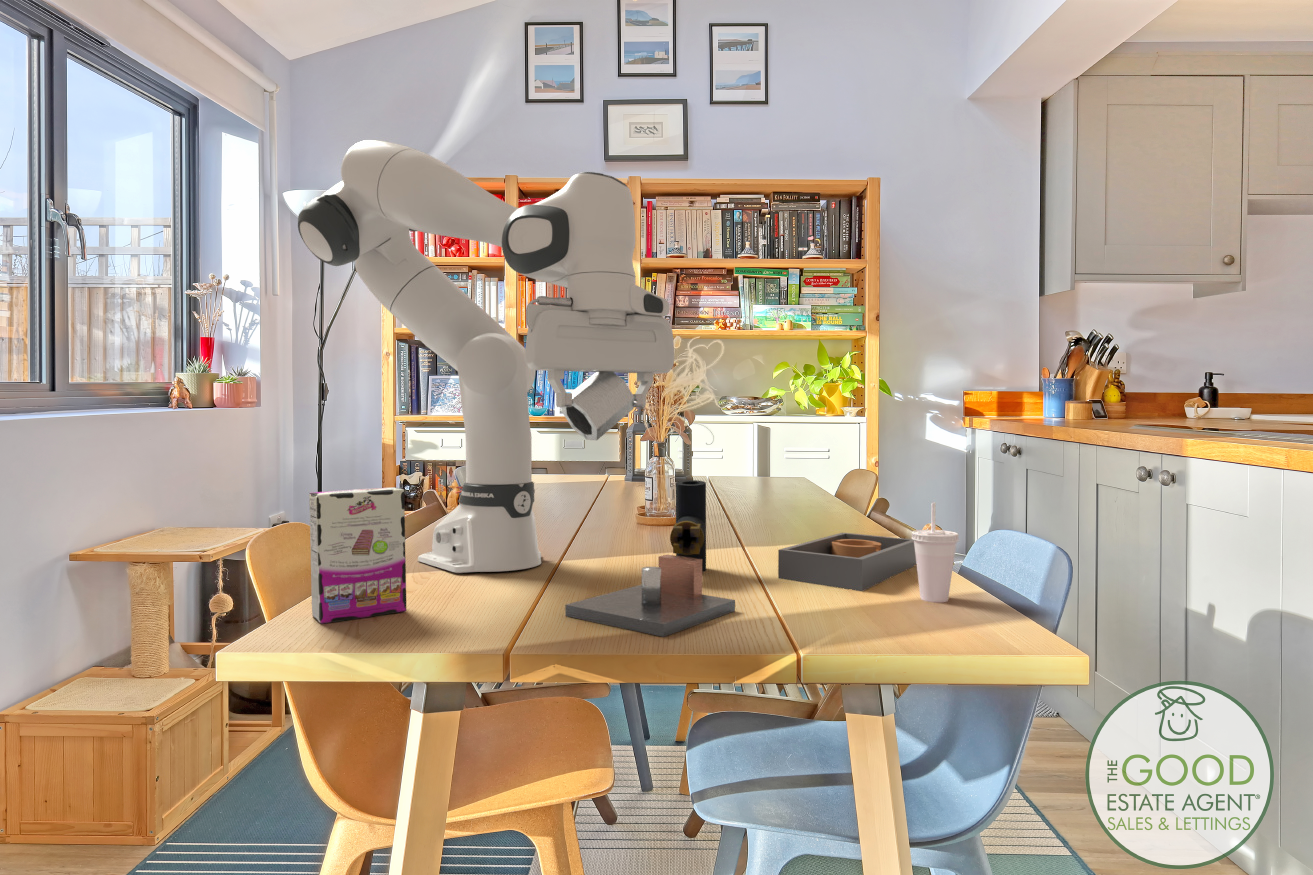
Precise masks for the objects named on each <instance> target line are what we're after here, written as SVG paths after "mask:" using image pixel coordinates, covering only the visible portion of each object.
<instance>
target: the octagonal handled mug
mask: <svg viewBox="0 0 1313 875" xmlns="http://www.w3.org/2000/svg"><path fill="white" fill-rule="evenodd" d="M570 393H572V399H571V401H572V406H571V407H561V413H562V414H563V416H564V417H565V419H566V421H567V422H568V424H569V426H570V427H571V428H572V430H573V431H576V432H577V433H578V434H579V435H580V436H581V437H582V438H583V439H585V440H587V441H598V440H599V439H600V438H602V436H604V435H605V434H606V433H608V431H610V430H611V429H612V428H613V427H615V426H616V424H618V423H619V422H620V421H621V420H623V418H625V416H627V415H629V413H631V411H633V410H634V408H635V407H634V396H633V394H634V393H632V391H631V389H630V388H629V386H628V384H627V383H626V381H625V380H624V379H623V378H622V377H621V376H619V375H618V374H617V373H614V372H613V371H601V372H593V374H592V375H590V376H589V377H588V378H586V379H585V380H584V381H583V382H582V383H581V384H579V385H578V386H577V387H575V388H574V389H573V390H572V391H571V392H570Z"/></svg>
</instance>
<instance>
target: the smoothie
mask: <svg viewBox="0 0 1313 875" xmlns="http://www.w3.org/2000/svg"><path fill="white" fill-rule="evenodd" d="M936 505H937V504H936V502H931V513H930V515H931V520H930V523H931V524H930V526H931V527H930V529H917V530H913V531H912V532H911V539H913V540H914V546H915V555H916V564H917V565H916V571H917V581H918V589H919V596H920V600H922V601H924V602H928V603H945V602H948V601H949V596H950V590H951V582H952V577H953V576H952V575H953V568H954V563H955V562H954V560H955V554H956V548H957V543H958V542H960V539H959V533H958V532H955V531H949V530H942V529H936Z"/></svg>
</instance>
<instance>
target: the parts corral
mask: <svg viewBox="0 0 1313 875" xmlns="http://www.w3.org/2000/svg"><path fill="white" fill-rule="evenodd" d="M840 539H859V540H869V541H875V542H879V543H881V550H880V551H877V552H874V553H871V554H868V555H865V556H862V557H860V558H856V557H847V556H839V555H831V548H832V542H833V541H834V540H840ZM777 552H778V557H777V558H778V560H777V561H778V566H777V568H778V569H777V574H778V576H777V578H778V580H779V579H780V580H786V581H793V582H800V583H806V584H811V585H818V586H825V587H831V588H837V587H838V588H837V589H843V588H844V589H845V590H849V589H852V590H851V591H857V592H864V591H866V590H868V589H870V588H873V587H874V586H877V585H878V584H881V583H883V582H885V581H887V580H889V579H891V578H893V577H895V576H897V575H899V574H902V573H903V572H905V571H907V570H909V569H911V568H913V567H915V566H914V565H916V555H915V546H914V540H913V539H912V538H903V537H893V536H892V537H891V536H883V535H881V536H880V535H874V534H873V535H872V534H861V533H850V532H840V533H836V534H832V535H828V536H825V537H820V538H818V539H814V540H810V541H805V542H802V543H798V544H794V545H791V546H787V547H784V548H780V549H778V551H777ZM916 566H917V565H916ZM906 569H907V570H906ZM898 573H899V574H898ZM894 575H895V576H894ZM892 576H893V577H892ZM890 577H891V578H890ZM844 589H843V590H844Z"/></svg>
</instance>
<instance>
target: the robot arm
mask: <svg viewBox="0 0 1313 875" xmlns="http://www.w3.org/2000/svg"><path fill="white" fill-rule="evenodd" d="M340 174H341V175H340V176H341V181H339V182H338V183H336V184H335V185H333V186H332V187H330V188H329V189H328V190H326V191H325V192H324V193H323V194H321V195H319V196H317V197H315V198H312V199H311V200H310V201H309V202H307V204H306V205H305V206H304V207H303V208H302V209H301V210H300V212H299V213H298V216H297V228H298V233H299V235H300V237H301V240H302V241H303V243H304V245H305V246H306V247H307V249H308V250H309V251H310V252H311V253H312V255H314V257H316V258H317V259H318V260H320V261H321V262H323V263H326V264H328V265H330V266H333V267H341V266H343V265H347V264H350V263H352V262H355V263H354V265H355V266H354V267H355V271H356V274H357V275H358V276H359V278H360V279H361V280H362V282H363V284H365V286H366V287H367V289H368V290H369V291H370V292H371V294H372V295H373V296H374V297H375V298H376V300H377V301H379V303H380V304H381V305H382V306H383V307H384V308H385V309H386V310H387V311H388V312H389V313H390V314H392V316H394V318H396V319H397V320H398V321H399V322H400V323H401V324H402V325H403V326H404V327H405V328H407V330H408V331H409V332H411V333H412V334H413V335H414V336H415V337H416V339H418V340H419V341H420V342H421V343H422V344H424V345H425V347H426V348H428V349H430V350H431V351H432V352H434V353H435V354H436V355H437V356H438V357H440V358H441V359H442V360H444V361H445V362H446V363H447V364H448V365H450V367H452V368H453V369H455V371H457V374H458V382H459V393H460V402H461V404H460V405H461V410H462V419H463V426H464V435H465V482H464V483H463V484H462V486H455V489H458V490H459V489H460V490H459V491H455V494H460V495H459V499H458V503H459V504H458V505H457V506H456V507H455V508H454V509H453V510H452V511H450V513H449V514H448V515H447V516H446V517H445V518H443V519H442V520H441V521H440V522H439V523H438V524H436V526H435V527H434V529H433V534H432V546H431V548H432V549H431V550H432V551H428V552H425V553H422V554H420V555H418V557H417V562H420V563H423V564H426V565H430V566H432V567H437V568H439V569H442V570H446V571H449V572H452V573H457V574H459V573H461V574H463V573H478V572H480V573H483V572H484V573H485V572H486V573H487V572H490V573H491V572H495V573H496V572H509V571H510V572H511V571H518V570H519V571H520V570H526V569H530V568H534V567H537V566H539V565H541V564H542V552H541V551H540V550H539V545H538V536H537V524H536V515H535V513H534V510H533V504H534V502H535V493H536V490H535V483H534V481H532V480H533V479H532V473H533V472H532V467H533V466H532V458H533V456H532V455H533V454H532V429H531V422H530V413H529V412H530V411H529V399H528V392H529V391H530V390H531V388H532V387H533V384H534V382H535V378H536V371H544V372H545V371H546V372H547V381H548V383H549V385H550V386H551V388H552V389H553V392H554V393H555V405H556V407H557V408H562V407H571V406H572V401H571V399H572V393H571V392H567V390H566V389H565V387H564V385H563V383H562V381H561V380H564V379H565V372H585V373H587V372H588V373H595V372H601V371H613V372H614V373H615V374H618V373H619V374H620V373H621V374H622V373H623V374H636V381H637V383H638V382H639V385H638V387H637V389H636V391H635V393H632V394H633V396H634V408H646V405H647V403H646V402H647V398H646V397H647V394H648V392H649V391H650V388H651V387H652V385H653V384H654V374H657V375H658V374H668V373H670V371H671V370H672V368H673V367H674V364H675V346H674V335H673V334H674V333H673V328H672V326H671V323H670V322H669V320H668V319H667V318H666V316H668V315H669V314H670V310H671V309H670V307H671V306H670V305H671V304H670V302H669V300H667V299H666V298H664V297H662V296H660V295H658V294H655V293H653V292H651V291H648V290H647V289H645V288H643V287H641V286H640V285H637V284H636V279H637V278H636V272H635V268H634V263H633V257H634V252H635V251H634V250H635V248H636V218H635V207H634V200H633V195H632V192H631V190H630V187H628V185H627V184H626V183H624V182H623V181H622V180H620V179H618V178H616V177H614V176H612V175H608V174H604V173H600V172H593V171H582V172H579V173H575V174H574V175H572V176H571V177H570V178H569V180H568V181H567V183H566V184H565V185H564V186H563V187H562V188H561V189H559V190H558V191H557V192H555V193H553V194H551V195H549V196H548V197H546V198H545V199H542V200H540V201H538V202H536V203H532V204H527V205H523V206H521V207H516V206H514V205H512V204H509V203H507V202H505V201H504V200H502V199H501V198H499V197H497V196H496V195H494V194H493V193H490V192H489V191H487V190H486V189H484V188H483V187H481V186H480V185H478V184H477V183H475V182H474V181H473V180H470V179H469V178H467V176H464V175H463V174H462V173H460V172H458V171H457V170H456V169H454V168H453V167H451V166H449V165H448V164H447V163H444V162H443V161H441V160H439V159H438V158H436V157H434V156H432V155H430V154H428V153H426V152H423V151H420V150H418V149H415V148H412V147H410V146H406V145H403V144H399V143H395V142H390V141H384V140H375V139H374V140H373V139H366V140H362V141H359V142H357V143H355V144H354V145H352V146H351V147H350V148H349V149H348V150H347V152H346V153H345V154H344V156H343V159H342V162H341V167H340ZM410 232H415V233H416V232H420V233H421V232H422V233H425V234H431V235H435V236H437V235H438V236H443V237H449V238H450V237H451V238H456V239H462V240H469V241H474V242H475V241H476V242H481V243H486V244H490V245H493V246H496V247H500V248H501V249H502V254H503V257H504V259H505V262H506V264H507V266H508V267H510V269H512V271H514V272H516V273H518V274H520V275H522V276H525V277H527V278H530V279H534V280H536V281H537V280H538V281H540V282H543V283H546V284H552V285H555V286H559V287H562V288H564V289H566V290H567V297H560V296H558V297H557V296H556V297H551V296H550V297H549V296H547V295H545V296H544V295H540V296H537V297H536V298H534V299H532V300H531V301H530V302H528V304H527V306H526V308H525V322H526V326H527V328H528V329H527V333H526V340H525V347H524V346H523V344H521V343H520V342H519V341H518V340H517V339H516V338H515V337H514V336H512V335H511V334H510V333H509V332H508V330H506V329H505V328H503V327H502V326H501V325H500V324H499V323H498V322H497V321H496V320H495V319H494V318H493V317H492V316H490V315H489V313H488V312H486V311H485V310H484V309H483V308H482V307H481V306H479V305H478V304H477V303H476V302H475V301H474V300H473V299H472V298H471V297H470V296H469V295H467V293H465V292H464V291H463V290H462V289H461V288H460V287H459V286H458V285H457V284H456V283H455V282H454V281H453V280H451V279H450V278H449V277H448V276H447V275H446V274H445V273H444V272H443V271H442V269H440V268H439V267H438V266H437V265H436V264H434V263H433V262H432V261H431V260H430V259H429V258H427V256H425V255H424V254H423V253H421V251H420V250H419V249H418V248H416V246H415V245H414V243H413V242H412V241H413V240H412V239H411V235H410V234H411V233H410ZM535 303H536V304H535Z"/></svg>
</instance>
